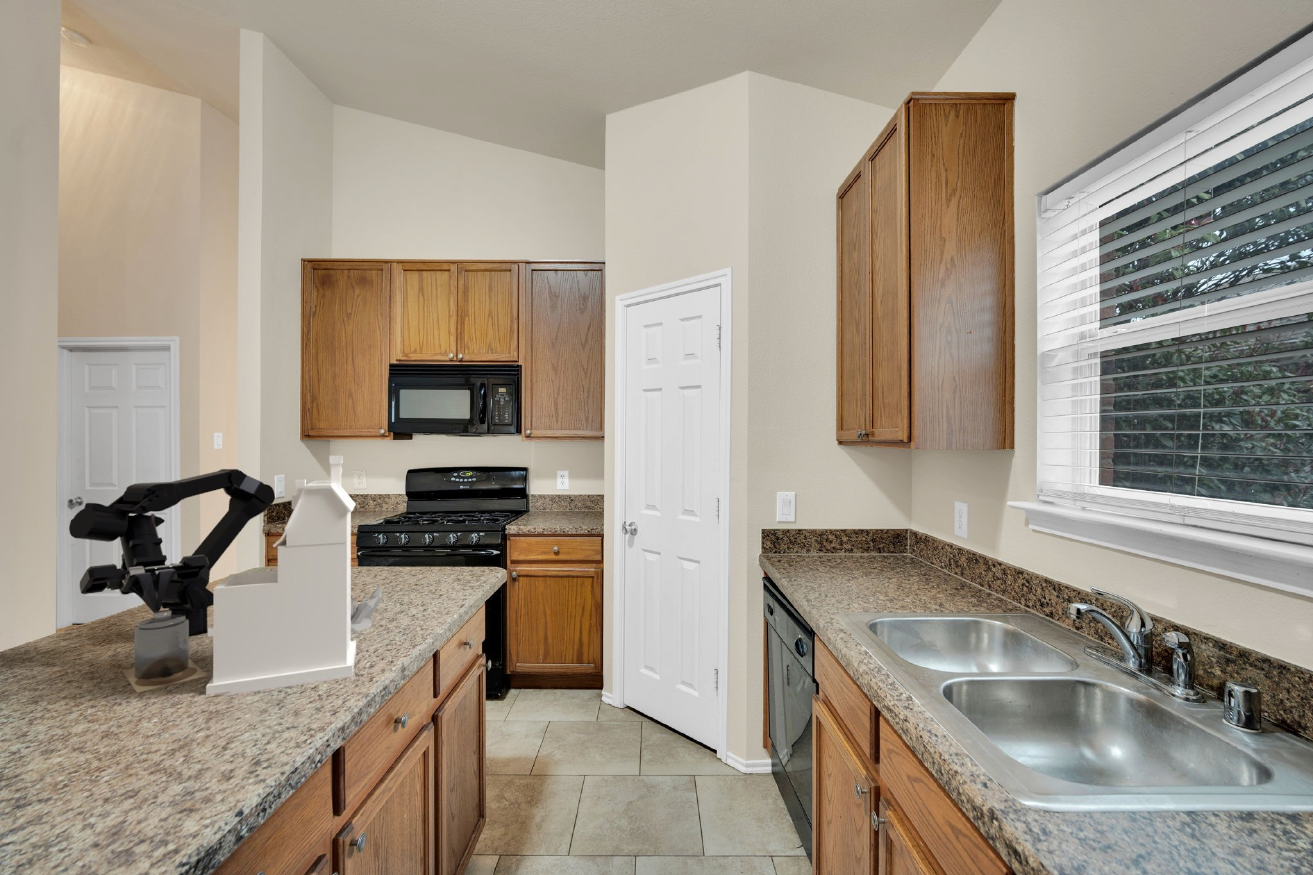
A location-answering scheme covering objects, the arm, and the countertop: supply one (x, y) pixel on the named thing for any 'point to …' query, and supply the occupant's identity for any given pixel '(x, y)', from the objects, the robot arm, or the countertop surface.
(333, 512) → the dollhouse
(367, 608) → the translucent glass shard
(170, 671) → the grey lidded jar
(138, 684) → the tan rectangular board
